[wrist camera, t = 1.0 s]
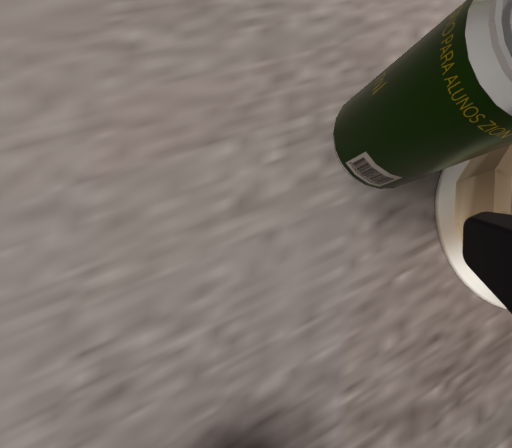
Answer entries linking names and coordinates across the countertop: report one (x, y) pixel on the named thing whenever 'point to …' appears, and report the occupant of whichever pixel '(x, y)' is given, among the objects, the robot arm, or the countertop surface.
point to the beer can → (434, 101)
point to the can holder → (472, 207)
